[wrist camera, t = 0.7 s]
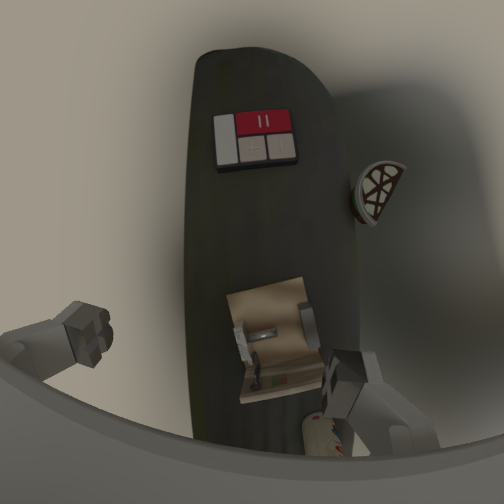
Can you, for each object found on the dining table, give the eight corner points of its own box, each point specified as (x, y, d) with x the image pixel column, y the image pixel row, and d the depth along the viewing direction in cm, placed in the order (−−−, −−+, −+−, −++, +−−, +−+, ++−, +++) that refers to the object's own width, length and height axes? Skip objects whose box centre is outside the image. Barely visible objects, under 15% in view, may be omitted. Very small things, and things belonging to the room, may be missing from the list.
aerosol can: (335, 430, 54) (354, 490, 34) (304, 438, 54) (313, 501, 34) (330, 406, 54) (350, 466, 34) (298, 415, 54) (306, 477, 34)
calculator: (299, 159, 50) (214, 167, 51) (296, 165, 55) (217, 173, 55) (290, 105, 50) (210, 113, 51) (288, 115, 55) (213, 122, 55)
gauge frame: (318, 355, 54) (331, 385, 40) (248, 371, 55) (241, 404, 41) (301, 276, 54) (310, 284, 40) (227, 294, 55) (213, 307, 41)
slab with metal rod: (283, 354, 52) (284, 364, 47) (247, 362, 53) (245, 372, 48) (273, 312, 52) (273, 319, 47) (236, 321, 53) (233, 328, 48)
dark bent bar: (262, 364, 52) (260, 388, 42) (254, 366, 53) (250, 390, 43) (258, 350, 52) (255, 371, 42) (250, 352, 53) (245, 373, 43)
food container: (362, 160, 53) (378, 143, 43) (387, 178, 53) (408, 165, 43) (331, 212, 53) (344, 204, 43) (358, 230, 53) (376, 226, 43)
